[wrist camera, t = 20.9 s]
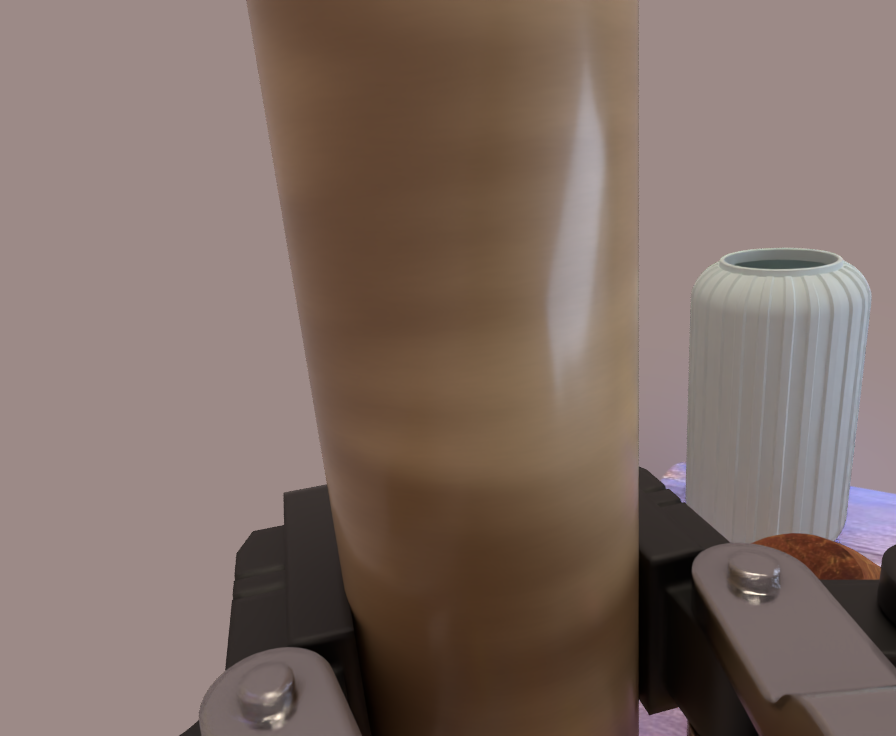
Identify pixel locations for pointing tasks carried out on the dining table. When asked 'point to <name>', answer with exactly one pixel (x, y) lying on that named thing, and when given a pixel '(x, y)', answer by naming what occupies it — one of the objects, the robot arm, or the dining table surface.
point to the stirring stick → (471, 344)
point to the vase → (775, 392)
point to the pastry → (824, 556)
